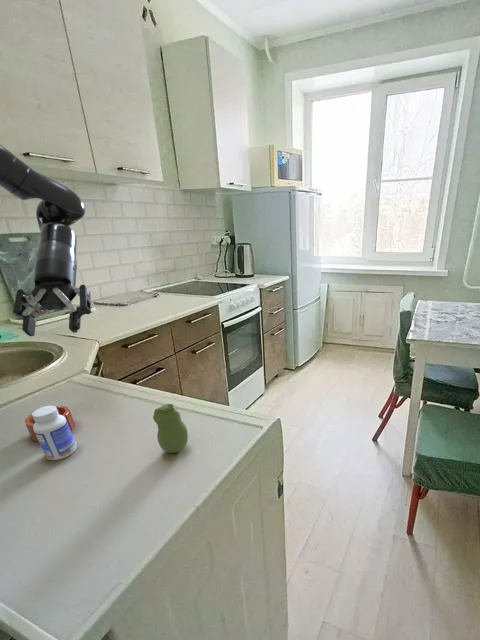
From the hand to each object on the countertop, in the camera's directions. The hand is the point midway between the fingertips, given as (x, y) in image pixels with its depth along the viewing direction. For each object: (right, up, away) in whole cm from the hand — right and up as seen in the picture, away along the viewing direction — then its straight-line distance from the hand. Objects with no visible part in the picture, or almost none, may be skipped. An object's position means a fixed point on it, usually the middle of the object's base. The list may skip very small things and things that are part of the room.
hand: (51, 332), depth 73 cm
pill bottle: (+4, -25, -3) cm, 25 cm away
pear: (+27, -24, -4) cm, 36 cm away
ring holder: (-3, -21, +5) cm, 22 cm away
